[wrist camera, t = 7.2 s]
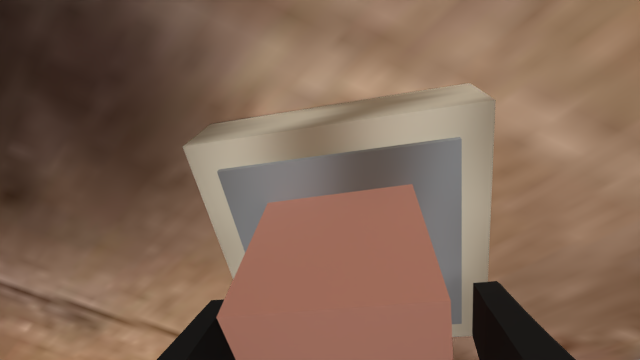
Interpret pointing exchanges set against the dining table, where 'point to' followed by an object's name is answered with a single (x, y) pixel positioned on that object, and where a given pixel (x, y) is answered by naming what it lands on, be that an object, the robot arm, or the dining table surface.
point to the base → (362, 171)
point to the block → (340, 282)
